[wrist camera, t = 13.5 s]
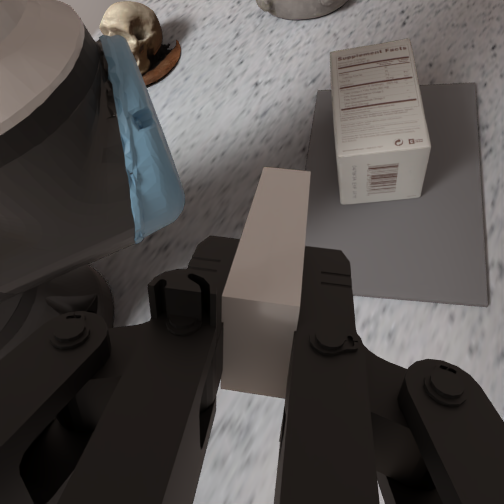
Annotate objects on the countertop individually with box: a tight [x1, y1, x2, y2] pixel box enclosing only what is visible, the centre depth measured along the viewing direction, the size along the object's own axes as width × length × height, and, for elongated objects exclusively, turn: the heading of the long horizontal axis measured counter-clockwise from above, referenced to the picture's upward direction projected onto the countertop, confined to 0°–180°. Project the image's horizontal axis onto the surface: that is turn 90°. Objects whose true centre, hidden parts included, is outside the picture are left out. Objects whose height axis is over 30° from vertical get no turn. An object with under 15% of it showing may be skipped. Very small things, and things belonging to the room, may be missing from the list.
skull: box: [100, 1, 181, 85], centre depth 57 cm, size 12×10×10 cm
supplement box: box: [330, 39, 431, 205], centre depth 39 cm, size 7×7×13 cm
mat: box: [305, 83, 488, 307], centre depth 40 cm, size 24×16×1 cm, turn 170°
